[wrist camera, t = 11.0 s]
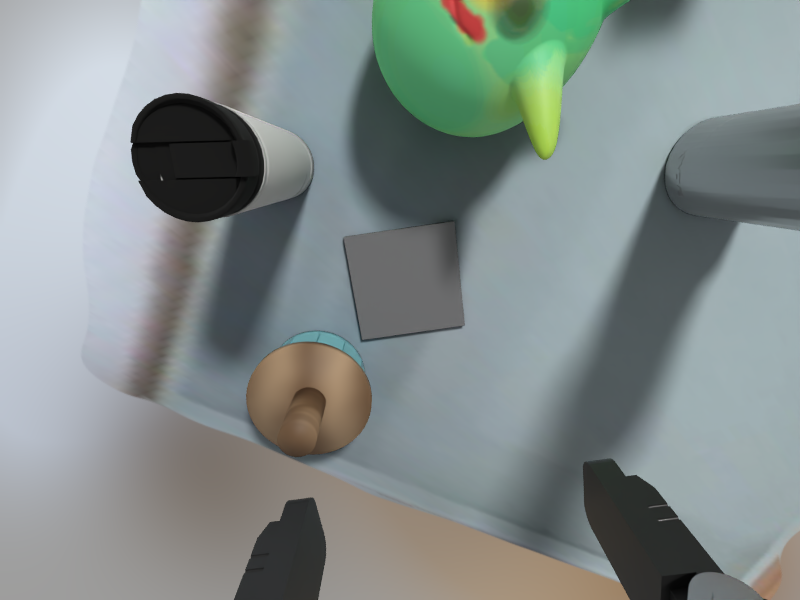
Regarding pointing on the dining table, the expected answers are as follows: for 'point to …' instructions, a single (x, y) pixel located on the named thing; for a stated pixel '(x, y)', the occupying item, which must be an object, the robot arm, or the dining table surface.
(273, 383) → the lid
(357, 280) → the mat
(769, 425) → the dining table surface
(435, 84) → the toy bird
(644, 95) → the dining table surface
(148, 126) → the travel mug
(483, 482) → the dining table surface
